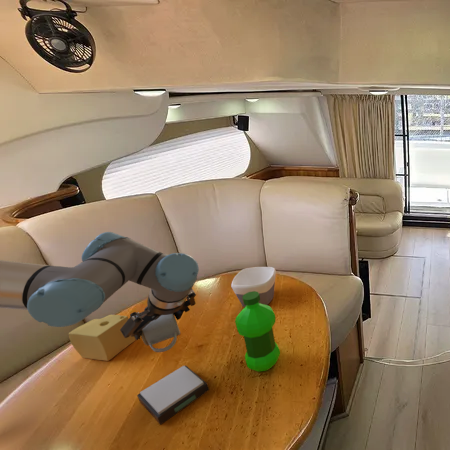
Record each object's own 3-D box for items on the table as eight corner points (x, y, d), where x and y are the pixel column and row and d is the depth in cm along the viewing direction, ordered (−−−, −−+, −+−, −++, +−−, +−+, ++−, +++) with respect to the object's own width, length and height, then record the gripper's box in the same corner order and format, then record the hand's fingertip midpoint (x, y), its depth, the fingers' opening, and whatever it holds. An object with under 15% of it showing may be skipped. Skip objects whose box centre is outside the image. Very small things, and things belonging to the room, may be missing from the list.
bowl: (245, 290, 133) (240, 267, 129) (282, 287, 135) (279, 265, 131) (231, 312, 119) (225, 287, 115) (273, 309, 121) (268, 285, 117)
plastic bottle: (239, 367, 94) (222, 297, 85) (271, 347, 102) (258, 281, 93) (257, 384, 89) (241, 311, 80) (289, 361, 96) (278, 293, 87)
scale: (160, 425, 77) (157, 416, 76) (139, 401, 83) (136, 392, 82) (209, 390, 87) (207, 381, 86) (187, 371, 93) (185, 363, 92)
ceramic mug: (143, 338, 89) (135, 316, 86) (177, 325, 94) (171, 304, 91) (148, 359, 82) (139, 336, 79) (184, 344, 87) (177, 322, 84)
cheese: (111, 336, 107) (101, 312, 103) (139, 339, 105) (130, 315, 102) (78, 359, 97) (66, 333, 93) (108, 363, 96) (97, 337, 92)
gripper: (120, 334, 66) (115, 361, 79) (222, 286, 83) (203, 315, 97) (102, 305, 66) (100, 337, 80) (207, 263, 84) (190, 295, 97)
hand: (156, 325), depth 88 cm, fingers closed on ceramic mug, 9 cm apart
